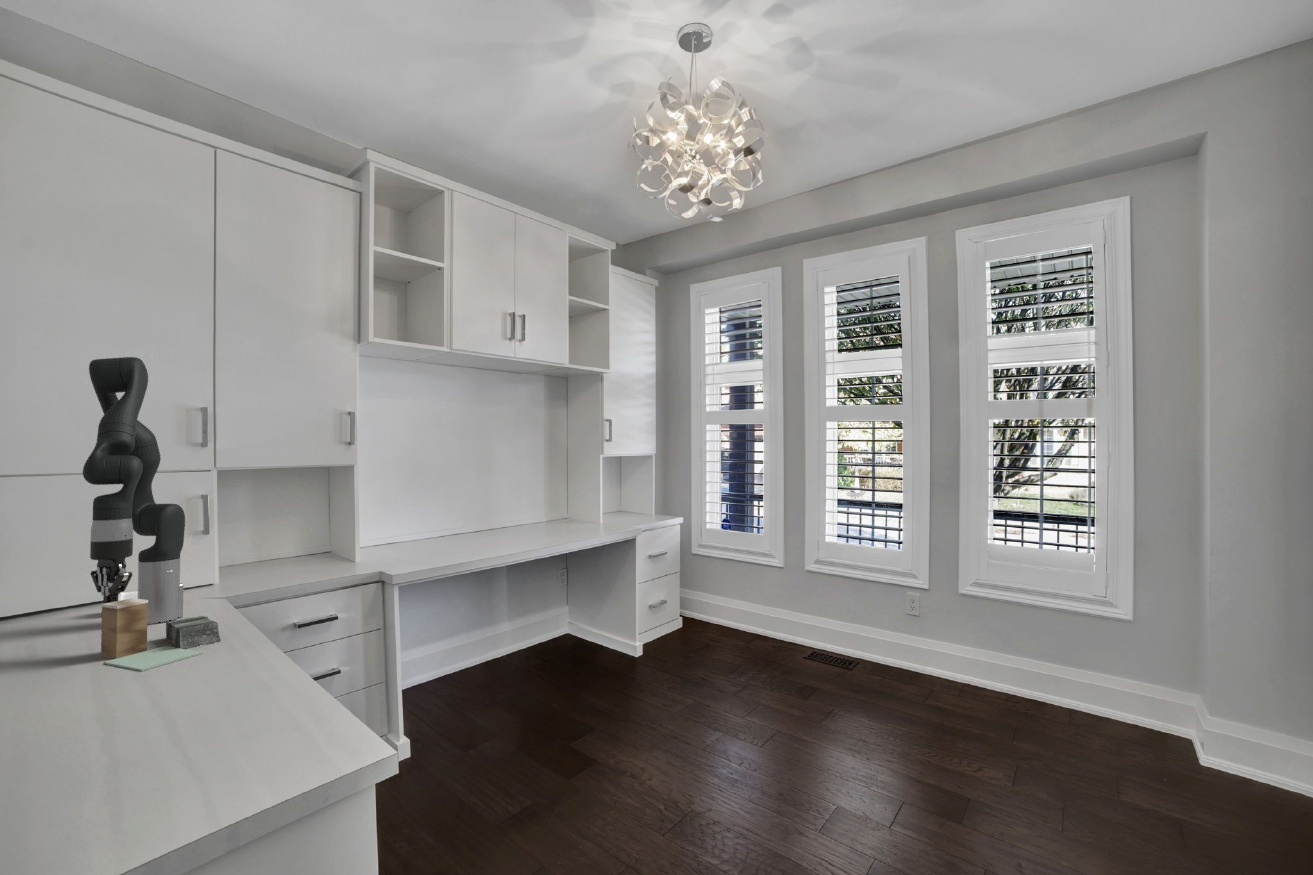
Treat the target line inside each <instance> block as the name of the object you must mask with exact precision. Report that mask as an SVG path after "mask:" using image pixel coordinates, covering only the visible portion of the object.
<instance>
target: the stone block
mask: <svg viewBox="0 0 1313 875" xmlns="http://www.w3.org/2000/svg"><path fill="white" fill-rule="evenodd" d="M165 637H166V638H165V639H166V641H168V642H169V643H170V642H171V644H173V645H174V646H175V648H181V649H187V650H189V649H193V648H197V646H198V647H201V646H200V645H203V646H206V645H205V644H207V645H209V644H212V643H214V644H216V643H215V642H217V643H220V642H221V635H220V631H219V623H218V622H216V621H214V620H212V619H210V618H209V617H208V616H205V615H201V616H195V617H193V616H192V617H186V618H181V619H180V618H179V619H174V620H171V621H167V622H165Z"/></svg>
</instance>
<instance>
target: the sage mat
mask: <svg viewBox="0 0 1313 875" xmlns="http://www.w3.org/2000/svg"><path fill="white" fill-rule="evenodd" d="M202 654H203V651H199V650H192V649H181V648H177V647H176V646H175V647H174V646H168V645H163V646H160V647H156V648H152V649H147V651H144V652H140V653H136V654H132V655H129V656H125V657H121V658H117V659H114V658H113V659H111V660H106V661H104V662H103V664H104V665H109V666H114V667H118V668H123V669H128V670H133V671H139V672H143V671H144V672H146V671H148V670H151V669H155V668H158V667H162V666H165V665H169V664H172V663H176V662H179V661H182V660H185V659H190V658H193V657H196V656H199V655H202Z"/></svg>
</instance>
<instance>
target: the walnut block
mask: <svg viewBox="0 0 1313 875" xmlns="http://www.w3.org/2000/svg"><path fill="white" fill-rule="evenodd" d="M147 615H148V600H143V599H135V598H131V599H126V600H121V601H115V602H110V603H105V604H103V603H101V635H100V637H101V643H100V644H101V645H100V657H104V658H109V659H113V660H114V659H117V658H121V657H125V656H129V655H132V654H136V653H140V652H144V651H148V624H147Z"/></svg>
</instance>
